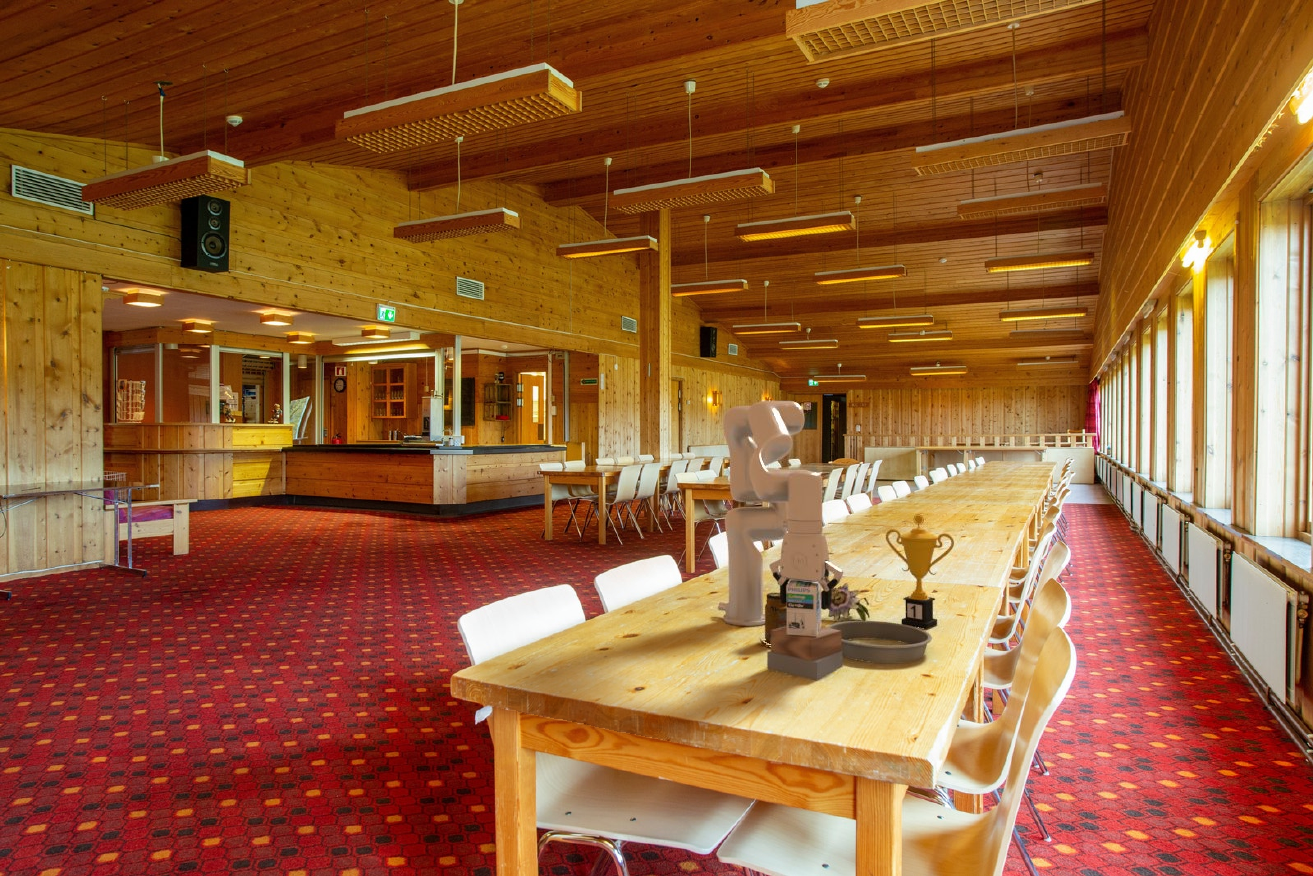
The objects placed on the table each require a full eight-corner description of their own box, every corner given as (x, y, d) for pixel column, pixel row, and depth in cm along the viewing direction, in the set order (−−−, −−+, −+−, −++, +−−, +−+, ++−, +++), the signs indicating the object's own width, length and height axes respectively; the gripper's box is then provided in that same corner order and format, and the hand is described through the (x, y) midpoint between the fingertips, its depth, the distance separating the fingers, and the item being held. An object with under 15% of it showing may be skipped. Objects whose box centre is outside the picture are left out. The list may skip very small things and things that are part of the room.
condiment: (788, 638, 189) (788, 591, 189) (795, 648, 181) (795, 598, 181) (759, 639, 189) (759, 591, 189) (765, 648, 180) (765, 598, 180)
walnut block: (770, 650, 165) (770, 630, 165) (800, 641, 172) (800, 622, 172) (811, 661, 157) (811, 639, 157) (841, 651, 164) (841, 630, 164)
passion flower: (837, 640, 207) (811, 604, 210) (850, 625, 216) (825, 590, 218) (868, 623, 201) (841, 585, 203) (880, 608, 210) (854, 572, 212)
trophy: (877, 622, 205) (877, 513, 206) (894, 616, 212) (893, 510, 212) (946, 634, 192) (945, 518, 192) (962, 627, 199) (961, 515, 199)
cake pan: (955, 660, 170) (955, 641, 170) (860, 670, 163) (859, 650, 163) (891, 634, 194) (891, 617, 194) (806, 642, 187) (806, 624, 187)
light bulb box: (817, 637, 158) (817, 587, 158) (785, 635, 160) (785, 585, 161) (821, 625, 169) (821, 578, 169) (791, 623, 171) (791, 576, 171)
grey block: (767, 673, 163) (767, 652, 163) (793, 660, 173) (793, 641, 173) (817, 683, 156) (817, 662, 156) (842, 670, 165) (842, 649, 165)
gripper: (762, 526, 167) (762, 603, 167) (834, 532, 156) (835, 614, 156) (778, 523, 173) (778, 597, 172) (849, 528, 162) (849, 607, 162)
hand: (805, 605), depth 164 cm, fingers open, 9 cm apart
